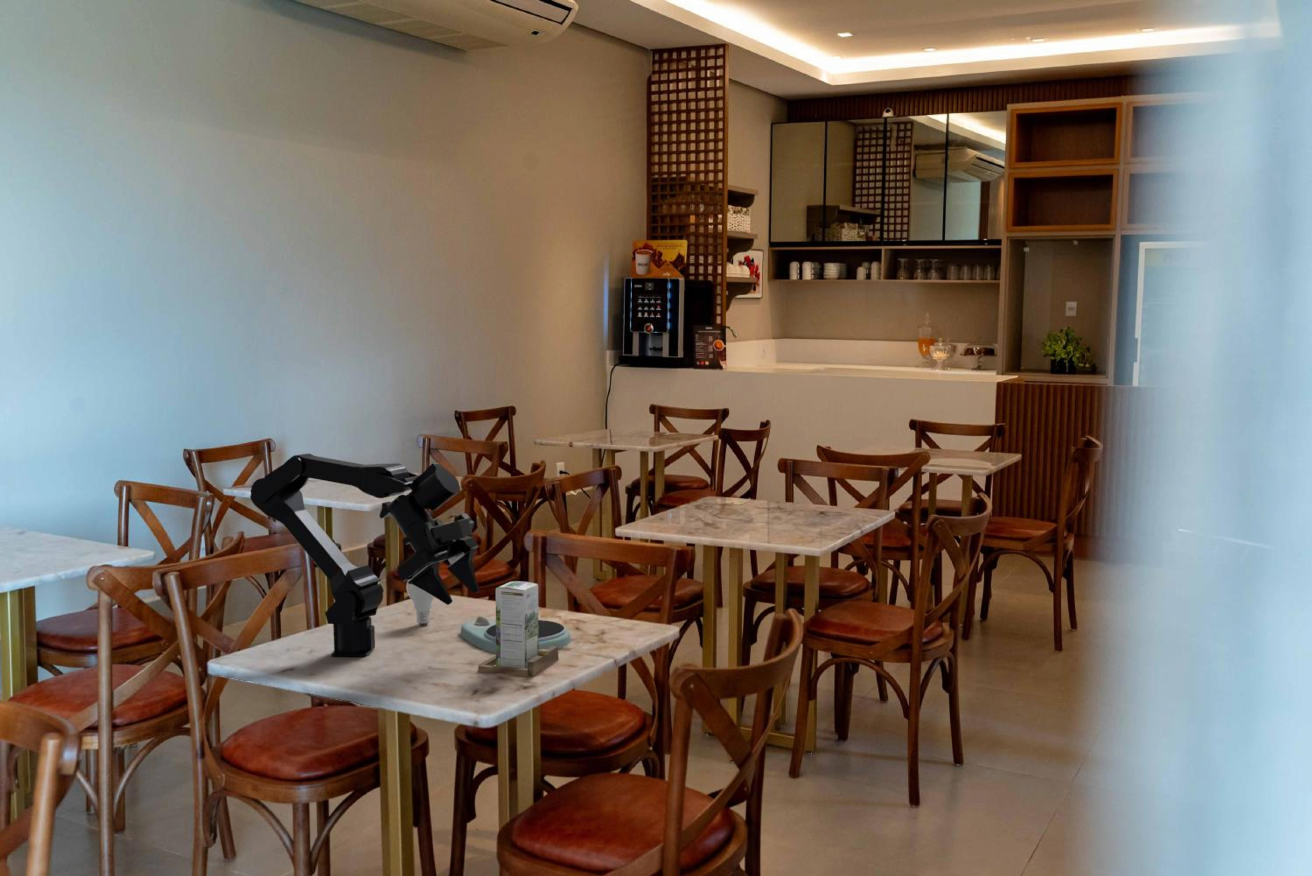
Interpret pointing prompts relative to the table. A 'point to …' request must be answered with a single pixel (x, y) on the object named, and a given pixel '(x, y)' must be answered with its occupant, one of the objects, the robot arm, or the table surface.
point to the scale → (485, 634)
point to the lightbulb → (420, 603)
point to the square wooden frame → (533, 666)
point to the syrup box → (516, 624)
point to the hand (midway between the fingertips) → (463, 597)
